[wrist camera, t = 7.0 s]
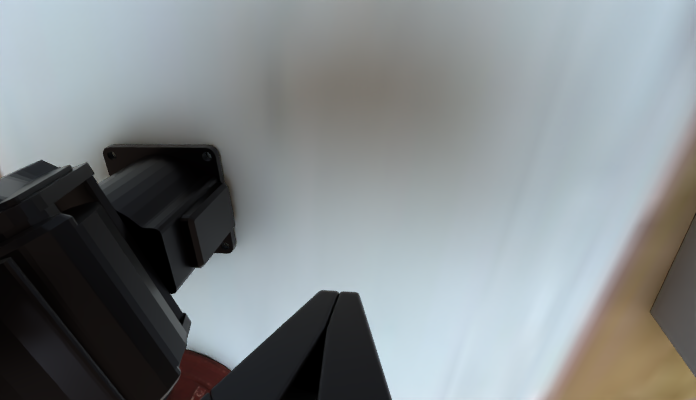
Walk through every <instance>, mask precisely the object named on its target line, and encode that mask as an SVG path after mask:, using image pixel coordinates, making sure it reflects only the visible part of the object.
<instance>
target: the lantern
mask: <svg viewBox="0 0 696 400" xmlns="http://www.w3.org/2000/svg"><path fill="white" fill-rule="evenodd" d="M179 368H180V370H181V374H180V377H179V379H178V381H177V383H176V384H175V385H174V387H173V389H172V391H171V393H170V394H169V396H168V397H167V399H166V400H200V399H201V398H202V397H203V396H204V395H205V394H206V393H210V390H211V389H212V388H213V387H214V386H215V385H216V384H218V383H219V382H220V381H221V380H222V379H223V378H224V377H225V376H226V375H228V374H229V373H230V372H231V371H230V370H229V369H227V368H226V367H225V366H223V365H222V364H220V363H218V362H216V361H214V360H211V359H209V358H207V357H205V356H202V355H200V354H198V353H195V352H193V351H190V350H185V351H184V354H183V356H182V359H181V362H180V366H179Z"/></svg>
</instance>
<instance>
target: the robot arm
mask: <svg viewBox="0 0 696 400" xmlns="http://www.w3.org/2000/svg"><path fill="white" fill-rule="evenodd" d="M112 152H113V153H115V155H116V157H115V156H113V154H112ZM206 152H208V153H209V154H210V155H211V159H210V158H208V157H207V156H206ZM103 156H104V159H105V162H106V165H107V169H108V172H109V175H110V177H108V178H107V179H105V180H104V181H102V182H100V183H99V184H98V183H97V181H96V180H95V178H94V177H93V175H94V174H95V173H94V172H93V170H92V169H91V167H90V166H89V164H88V163H87V162H86V163H84V164H81V165H78V166H76V167H73V168H72V167H71V166H70V165H68V166H65V167H62V168H61V167H59V168H58V167H56V166H54V165H52V164H49V163H47V162H45V161H43V160H40V161H38V162H35V163H33V164H30V165H28V166H26V167H24V168H22V169H19V170H17V171H15V172H13V173H11V174H9V175H6V176H4V177H2V178H0V400H166V399H167V397H168V396H169V394H170V393H171V391H172V389H173V387H174V385H175V384H176V383H177V381H178V379H179V377H180V374H181V370H180V368H179V366H180V362H181V359H182V356H183V354H184V351H185V349H186V346H187V337H188V333H189V330H190V326H191V321H190V319H189V318H188V316H187V315H186V313H182V311H181V310H180V308H179V307H178V305H177V304H176V302H175V301H174V299H173V297H172V296H171V294H173V293H176V291H177V290H178V289H179V288H180V286H181V285H182V284H183V283H184V281H185V280H186V279H187V278H188V276H189V275H190V274H191V273H192V272H193V270H194V269H195V268H202V267H203V266H204V265H205V264H206V262H207V261H208V260H209V258H210V257H211V256H212V255H213V253H225V254H227V253H231V252H232V251H233V249H234V248H235V246H236V241H235V235H234V230H233V228H234V226H235V221H234V216H233V210H232V205H231V200H230V194H229V189H228V186H227V185H226V184H225V183H224V178H223V173H222V167H221V162H220V157H219V153H218V151H217V149H216V148H215V147H213V146H210V145H110V146H108V147H107V148H105V149H104V151H103ZM224 243H227V244H228V245H229V246H226V245H225V244H224ZM200 400H392V398H391V395H390V392H389V389H388V385H387V382H386V379H385V376H384V372H383V369H382V366H381V363H380V360H379V356H378V353H377V350H376V347H375V344H374V340H373V337H372V334H371V331H370V328H369V324H368V321H367V318H366V315H365V312H364V308H363V305H362V302H361V299H360V296H359V294H358V293H357V292H341V293H340V294H339V292H337V291H327V290H321V291H319V292H318V293H317V294H316V295H315V296H314V297H313V298H311V299H310V300H309V301H308V302H307V303H306V304H305V305H304V306H303V307H301V308H300V309H299V310H298V311H297V312H296V313H295V314H294V315H293V316H292V317H290V318H289V319H288V320H287V321H286V322H285V323H284V324H283V325H282V326H281V327H279V328H278V329H277V330H276V331H275V332H274V333H273V334H272V335H271V336H269V337H268V338H267V339H266V340H265V341H264V342H263V343H262V344H261V345H260V346H258V347H257V348H256V349H255V350H254V351H253V352H252V353H251V354H250V355H248V356H247V357H246V358H245V359H244V360H243V361H242V362H241V363H240V364H239V365H237V366H236V367H235V368H234V369H233V370H232V371H231V372H230V373H229V374H228V375H226V376H225V377H224V378H223V379H222V380H221V381H220V382H219V383H218V384H216V385H215V386H214V387H213V388H212V389H211V390H210V393H206V394H205V395H204V396H203V397H202V398H201V399H200Z"/></svg>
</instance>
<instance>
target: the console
mask: <svg viewBox="0 0 696 400" xmlns="http://www.w3.org/2000/svg"><path fill="white" fill-rule="evenodd" d="M650 313H651V315H652V316H653V318H654V319H655V320H656V322H657V323H658V325H659V326H660V327H661V329H662V330H663V332H664V333H665V335H666V336H667V337H668V339H669V340H670V342H671V343H672V344H673V346H674V347H675V349H676V350H677V352H678V353H679V354H680V356H681V357H682V359H683V360H684V362H685V363H686V364H687V366H688V367H689V369H690V370H691V371H692V373H693V374H694V376H695V377H696V215H695V217H694V219H693V221H692V223H691V226H690V228H689V230H688V232H687V234H686V236H685V238H684V241H683V243H682V245H681V247H680V249H679V251H678V253H677V256H676V258H675V260H674V262H673V264H672V266H671V269H670V271H669V273H668V275H667V277H666V279H665V281H664V284H663V286H662V288H661V290H660V292H659V294H658V296H657V299H656V301H655V303H654V305H653V307H652V309H651V311H650Z"/></svg>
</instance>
